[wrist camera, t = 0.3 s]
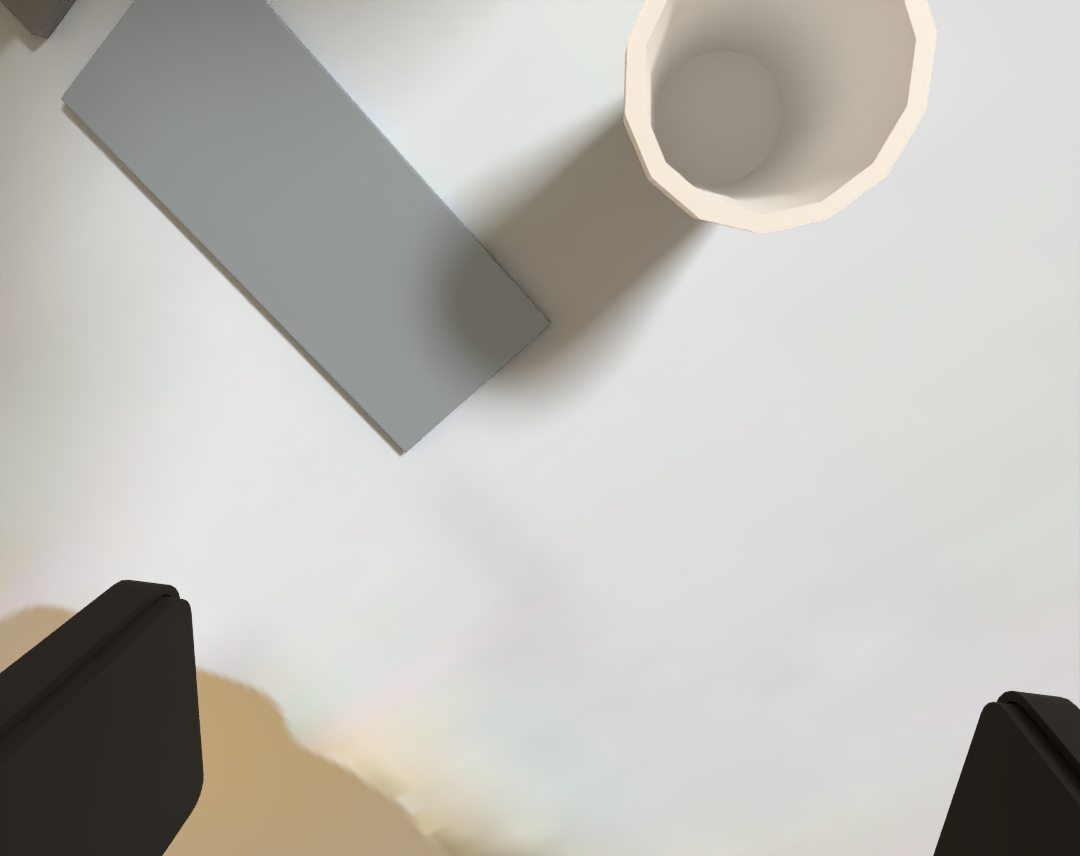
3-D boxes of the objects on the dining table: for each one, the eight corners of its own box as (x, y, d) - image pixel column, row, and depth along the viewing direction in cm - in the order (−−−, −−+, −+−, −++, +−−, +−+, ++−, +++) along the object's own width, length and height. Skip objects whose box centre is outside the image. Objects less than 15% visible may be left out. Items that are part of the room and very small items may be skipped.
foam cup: (689, 260, 37) (732, 289, 24) (578, 108, 35) (563, 56, 23) (854, 134, 34) (995, 95, 22) (744, -37, 32) (829, -183, 20)
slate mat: (200, -72, 34) (193, -77, 33) (550, 322, 38) (549, 324, 38) (69, 100, 37) (60, 98, 36) (408, 449, 41) (405, 452, 40)
